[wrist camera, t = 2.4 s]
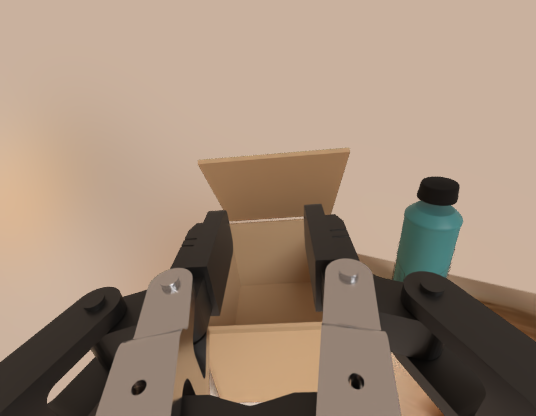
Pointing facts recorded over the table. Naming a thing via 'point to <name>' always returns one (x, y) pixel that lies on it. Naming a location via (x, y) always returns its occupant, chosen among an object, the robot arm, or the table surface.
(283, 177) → the carton flap
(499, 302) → the table surface
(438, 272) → the beverage bottle
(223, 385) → the carton
